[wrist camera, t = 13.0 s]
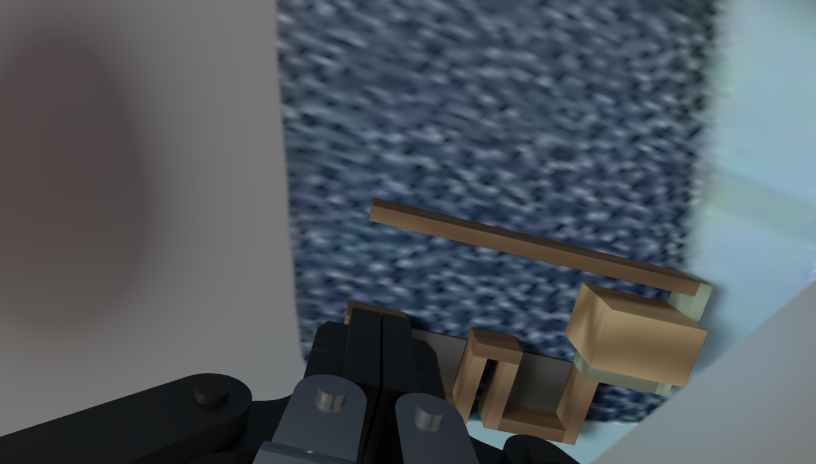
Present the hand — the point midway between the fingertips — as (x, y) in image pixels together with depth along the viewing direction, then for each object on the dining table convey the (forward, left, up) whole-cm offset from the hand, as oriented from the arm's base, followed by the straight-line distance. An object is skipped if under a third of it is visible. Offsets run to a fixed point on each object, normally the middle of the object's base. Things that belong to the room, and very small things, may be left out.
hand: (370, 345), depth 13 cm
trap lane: (+10, +14, -29) cm, 34 cm away
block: (+7, +23, -29) cm, 38 cm away
